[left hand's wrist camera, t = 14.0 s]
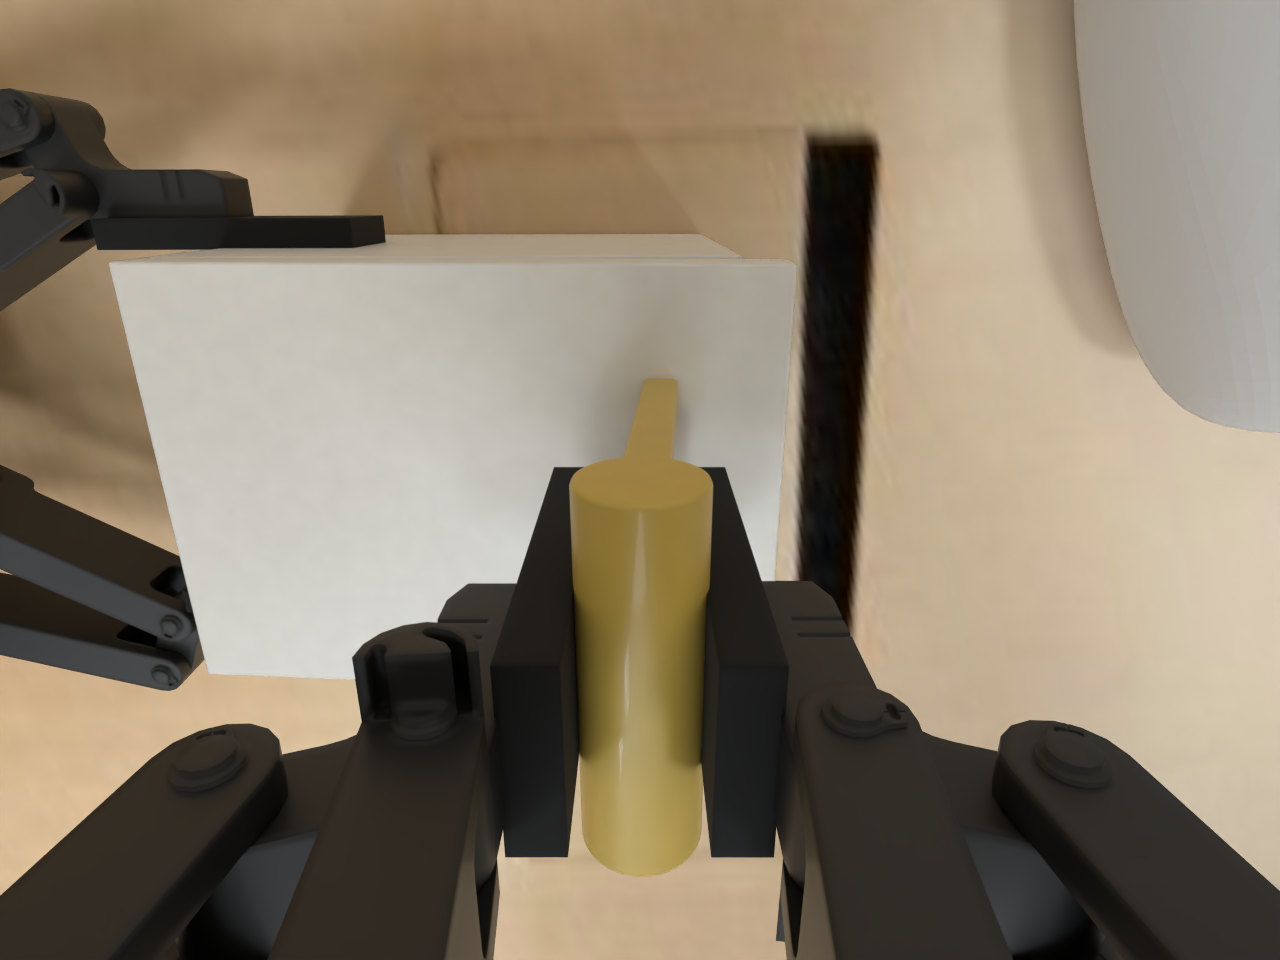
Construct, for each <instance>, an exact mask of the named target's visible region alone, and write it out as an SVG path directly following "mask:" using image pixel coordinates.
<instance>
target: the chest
mask: <svg viewBox="0 0 1280 960" xmlns="http://www.w3.org/2000/svg"><path fill="white" fill-rule="evenodd" d="M385 239H386V242H385V243H379V244H374V245H368V246H362V247H356V248H220V249H211V250H203V251H195V252H186V253H178V254H169V255H161V256H153V257H232V258H590V259H742V256H741V255H739V254H737V253H735V252H733V251H731V250H729V249H728V248H726V247H724V246H722V245H720V244H718V243H716V242H714V241H713V240H711V239H709V238H707V237H705V236H703V235H701V234H400V235H385Z"/></svg>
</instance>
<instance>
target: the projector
mask: <svg viewBox="0 0 1280 960" xmlns="http://www.w3.org/2000/svg"><path fill="white" fill-rule="evenodd" d="M1074 23H1075V40H1076V57H1077V69H1078V79H1079V89H1080V98H1081V108H1082V118H1083V126H1084V133H1085V140H1086V147H1087V154H1088V160H1089V167H1090V174H1091V180H1092V186H1093V191H1094V196H1095V201H1096V207H1097V212H1098V217H1099V223H1100V228H1101V232H1102V237H1103V241H1104V245H1105V250H1106V254H1107V258H1108V263H1109V267H1110V271H1111V275H1112V278H1113V282H1114V285H1115V289H1116V292H1117V296H1118V299H1119V303H1120V306H1121V309H1122V312H1123V315H1124V317H1125V320H1126V323H1127V326H1128V328H1129V331H1130V334H1131V336H1132V339H1133V341H1134V343H1135V345H1136V347H1137V350H1138V352H1139V354H1140V356H1141V358H1142V360H1143V362H1144V364H1145V365H1146V367H1147V368H1148V370H1149V371H1150V373H1151V375H1152V376H1153V378H1154V379H1155V380H1156V382H1157V383H1158V384H1159V386H1160V387H1161V388H1162V389H1163V391H1164V392H1165V393H1167V394H1168V395H1169V396H1170V397H1171V398H1172V399H1173V400H1174V401H1175V402H1176V403H1177V404H1179V405H1180V406H1181V407H1182V408H1184V409H1185V410H1187V411H1189V412H1191V413H1192V414H1194V415H1196V416H1198V417H1200V418H1202V419H1204V420H1207V421H1209V422H1212V423H1216V424H1219V425H1223V426H1226V427H1232V428H1237V429H1243V430H1249V431H1259V432H1271V433H1280V0H1074Z"/></svg>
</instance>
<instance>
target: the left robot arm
mask: <svg viewBox="0 0 1280 960" xmlns="http://www.w3.org/2000/svg"><path fill="white" fill-rule="evenodd" d="M582 468H583V467H554V469H553V472H552V475H551V478H550V481H549V484H548V487H547V490H546V494H545V497H544V500H543V503H542V506H541V509H540V512H539V515H538V518H537V521H536V525H535V528H534V531H533V534H532V537H531V540H530V543H529V546H528V549H527V552H526V556H525V559H524V562H523V565H522V568H521V571H520V574H519V577H518V580H517V583H468V584H467V585H465V586H464V587H463V588H462V589H460V590H459V591H458V592H456V593H455V594H454V595H453V596H451V597H450V598H449V599H447V601H446V603H445V605H444V607H443V609H442V611H441V613H440V615H439V617H438V619H437V622H422V623H416V624H409V625H403V626H400V627H397V628H394V629H391V630H388V631H385V632H382V633H380V634H378V635H377V636H375V637H374V638H372V639H370V640H369V641H367V642H366V643H364V644H363V645H362V646H361V647H360V648H359V649H358V651H357V652H356V653H355V654H354V656H353V657H352V661H353V668H354V674H355V681H356V687H357V693H358V700H359V706H360V713H361V719H362V723H361V726H360V728H359V731H358V733H357V735H355V736H353V737H350V738H348V739H346V740H342V741H339V742H335V743H332V744H328V745H324V746H320V747H315V748H310V749H306V750H301V751H297V752H292V753H287V754H283V755H282V752H281V747H280V742H279V739H278V738H277V737H276V736H275V735H274V734H273V733H272V732H271V731H270V730H269V729H267V728H264V727H260V726H257V725H253V724H226V725H222V726H217V727H213V728H208V729H205V730H201V731H198V732H196V733H194V734H192V735H189V736H187V737H185V738H183V739H180V740H178V741H176V742H174V743H172V744H171V745H169V746H168V747H166V748H165V749H164V750H162V751H161V752H159V753H158V754H157V755H155V756H154V757H152V758H151V759H150V760H149V761H148V762H147V763H145V764H144V765H143V766H142V767H141V768H140V769H139V770H138V771H137V772H136V773H134V774H133V775H132V776H131V777H130V778H129V779H128V780H127V781H126V782H125V783H124V784H122V785H121V786H120V787H119V788H118V789H117V790H116V791H115V792H114V793H113V794H111V795H110V796H109V797H108V798H107V799H106V800H105V801H104V802H103V803H102V804H100V805H99V806H98V807H97V808H96V809H95V810H94V811H93V812H92V813H91V814H89V815H88V816H87V817H86V818H85V819H84V820H83V821H82V822H81V823H80V824H79V825H77V826H76V827H75V828H74V829H73V830H72V831H71V832H70V833H69V834H68V835H66V836H65V837H64V838H63V839H62V840H61V841H60V842H59V843H58V844H57V845H55V846H54V847H53V848H52V849H51V850H50V851H49V852H48V853H47V854H46V855H44V856H43V857H42V858H41V859H40V860H39V861H38V862H37V863H36V864H35V865H34V866H32V867H31V868H30V869H29V870H28V871H27V872H26V873H25V874H24V875H23V876H21V877H20V878H19V879H18V880H17V881H16V882H15V883H14V884H13V885H12V886H10V887H9V888H8V889H7V890H6V891H5V892H4V893H3V894H2V895H1V896H0V960H493V956H494V946H495V936H496V926H497V916H498V906H499V896H500V890H499V878H498V867H497V854H498V850H499V845H500V841H501V836H502V831H503V833H504V845H505V857H568V851H569V841H570V832H571V823H572V814H573V805H574V796H575V786H576V777H577V768H578V759H579V728H578V702H577V675H576V648H575V621H574V594H573V571H572V545H571V519H570V492H569V484H570V481H571V479H572V477H573V475H574V474H575V473H576V472H577V471H578V470H580V469H582ZM699 468H701V469H703V470H704V471H706V472H707V473H708V474H709V476H710V477H711V480H712V482H713V506H712V535H711V564H710V587H709V590H708V593H707V612H706V640H705V669H704V697H703V726H702V754H701V766H702V775H703V785H704V794H705V803H706V812H707V821H708V830H709V840H710V849H711V857H774V848H775V836H776V827H777V831H778V836H779V841H780V845H781V850H782V854H783V867H782V878H781V890H780V901H779V912H778V924H777V935H776V941H784V942H785V945H786V955H787V960H1280V891H1279V890H1278V889H1277V888H1276V887H1275V886H1273V885H1272V884H1271V883H1270V882H1269V881H1268V880H1267V879H1266V878H1265V877H1264V876H1262V875H1261V874H1260V873H1259V872H1258V871H1257V870H1256V869H1255V868H1254V867H1252V866H1251V865H1250V864H1249V863H1248V862H1247V861H1246V860H1245V859H1244V858H1243V857H1241V856H1240V855H1239V854H1238V853H1237V852H1236V851H1235V850H1234V849H1233V848H1231V847H1230V846H1229V845H1228V844H1227V843H1226V842H1225V841H1224V840H1223V839H1221V838H1220V837H1219V836H1218V835H1217V834H1216V833H1215V832H1214V831H1213V830H1212V829H1210V828H1209V827H1208V826H1207V825H1206V824H1205V823H1204V822H1203V821H1202V820H1200V819H1199V818H1198V817H1197V816H1196V815H1195V814H1194V813H1193V812H1192V811H1191V810H1189V809H1188V808H1187V807H1186V806H1185V805H1184V804H1183V803H1182V802H1181V801H1179V800H1178V799H1177V798H1176V797H1175V796H1174V795H1173V794H1172V793H1171V792H1170V791H1168V790H1167V789H1166V788H1165V787H1164V786H1163V785H1162V784H1161V783H1160V782H1158V781H1157V780H1156V779H1155V778H1154V777H1153V776H1152V775H1151V774H1150V773H1149V772H1147V771H1146V770H1145V769H1144V768H1143V767H1142V766H1141V765H1140V764H1139V763H1137V762H1136V761H1135V760H1134V759H1133V758H1132V757H1131V756H1130V755H1128V754H1127V753H1126V752H1124V751H1123V750H1121V749H1120V748H1118V747H1117V746H1116V745H1114V744H1113V743H1111V742H1110V741H1109V740H1107V739H1105V738H1103V737H1101V736H1098V735H1096V734H1094V733H1092V732H1089V731H1087V730H1085V729H1083V728H1080V727H1076V726H1073V725H1070V724H1069V725H1068V724H1066V723H1060V722H1056V721H1037V720H1029V721H1025V722H1022V723H1018V724H1015V725H1011V726H1010V727H1009V728H1008V729H1007V730H1006V731H1005V732H1004V733H1003V735H1002V736H1001V738H1000V743H999V748H998V751H993V750H988V749H984V748H979V747H975V746H970V745H965V744H961V743H956V742H952V741H948V740H945V739H941V738H938V737H934V736H932V735H929V734H927V733H925V732H923V731H922V730H921V727H920V725H919V722H918V720H917V719H916V717H915V716H914V715H913V713H912V712H911V710H910V709H909V707H908V706H906V705H905V704H904V703H902V702H901V701H899V700H898V699H897V698H895V697H894V696H892V695H891V694H889V693H886V692H884V691H881V690H879V689H877V687H876V685H875V683H874V681H873V679H872V677H871V675H870V673H869V671H868V669H867V667H866V665H865V663H864V661H863V659H862V657H861V655H860V653H859V651H858V649H857V647H856V644H855V642H854V640H853V638H852V637H850V632H849V630H848V628H847V626H846V624H845V622H844V621H842V616H841V614H840V612H839V610H838V608H837V606H836V604H835V601H834V599H833V597H831V596H830V595H829V594H827V593H826V592H825V591H823V590H822V589H821V588H820V587H818V586H817V585H816V584H814V583H813V582H812V581H762V580H761V577H760V574H759V571H758V568H757V565H756V561H755V558H754V555H753V552H752V549H751V546H750V543H749V540H748V537H747V534H746V530H745V527H744V524H743V521H742V518H741V515H740V512H739V509H738V506H737V503H736V499H735V496H734V493H733V490H732V487H731V484H730V481H729V478H728V475H727V472H726V468H725V467H699Z"/></svg>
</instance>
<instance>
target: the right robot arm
mask: <svg viewBox="0 0 1280 960" xmlns="http://www.w3.org/2000/svg"><path fill="white" fill-rule="evenodd" d="M105 129H106V128H105V124H104V121H103V118H102V117H101V115H100V114H99V112H98V111H97V110H96V109H95V108H94V107H92V106H91V105H90V104H88V103H85V102H82V101H78V100H72V99H66V98H61V97H55V96H49V95H44V94H38V93H32V92H27V91H21V90H15V89H1V90H0V180H2V179H5V178H8V177H11V176H14V175H17V174H20V173H22V174H23V176H34V177H35V178H34V180H33V181H32V182H30V183H29V184H27V185H26V186H25V187H23V188H22V189H21V190H19V191H18V192H17V193H15V194H14V195H12V196H11V197H10V198H8V199H7V200H6V201H4V202H3V203H2V204H0V311H1V310H3V309H4V308H6V307H7V306H9V305H10V304H11V303H13V302H14V301H16V300H17V299H19V298H20V297H21V296H23V295H24V294H26V293H27V292H29V291H30V290H31V289H33V288H34V287H36V286H37V285H39V284H40V283H41V282H43V281H44V280H46V279H47V278H49V277H50V276H52V275H53V274H54V273H56V272H57V271H59V270H60V269H62V268H63V267H64V266H66V265H67V264H69V263H70V262H72V261H73V260H74V259H76V258H77V257H79V256H80V255H82V254H83V253H84V252H86V251H87V250H89V249H90V248H92V247H93V246H94V245H97V249H98V250H196V249H220V248H356V247H362V246H368V245H374V244H379V243H385V242H386V239H385V230H384V221H383V216H254V214H253V208H252V203H251V197H250V191H249V186H248V180H247V179H245V178H243V177H240V176H238V175H235V174H233V173H230V172H228V171H214V170H131V169H129V168H127V167H125V166H124V165H122V164H120V163H119V162H118V161H117V160H116V159H115V158H114V156H113V155H112V154H111V152H110V151H109V149H108V147H107V145H106V144H105V142H104V138H105ZM0 569H1V570H4V571H6V572H8V573H11V574H13V575H10V574H4V573H0V655H4V656H8V657H13V658H17V659H22V660H26V661H31V662H36V663H40V664H45V665H49V666H54V667H58V668H63V669H68V670H72V671H77V672H81V673H86V674H90V675H95V676H99V677H104V678H109V679H113V680H118V681H122V682H127V683H131V684H136V685H141V686H145V687H150V688H154V689H159V690H166V691H170V690H174V689H177V688H178V687H179V686H180V685H181V684H182V683H183V682H184V681H185V680H186V679H187V678H188V677H189V675H190V674H191V673H192V672H193V671H194V670H195V669H196V668H197V667H198V666H199V665H200V664H201V663H202V662H203V660H204V655H203V651H202V646H201V642H200V638H199V634H198V630H197V626H196V622H195V618H194V613H193V609H192V605H191V601H190V597H189V593H188V589H187V585H186V581H185V576H184V572H183V568H182V564H181V560H180V556H177V555H175V554H173V553H171V552H169V551H166V550H164V549H162V548H160V547H157V546H155V545H153V544H151V543H149V542H146V541H144V540H142V539H140V538H137V537H135V536H133V535H131V534H129V533H126V532H124V531H122V530H120V529H117V528H115V527H113V526H111V525H109V524H106V523H104V522H102V521H100V520H98V519H95V518H93V517H91V516H89V515H86V514H84V513H82V512H80V511H78V510H75V509H73V508H71V507H69V506H66V505H64V504H62V503H60V502H58V501H55V500H53V499H51V498H49V497H46V496H44V495H42V494H40V493H38V492H36V491H35V490H34V482H33V481H32V480H31V479H29V478H28V477H26V476H24V475H22V474H19V473H17V472H15V471H13V470H11V469H8V468H6V467H4V466H2V465H0Z"/></svg>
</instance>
